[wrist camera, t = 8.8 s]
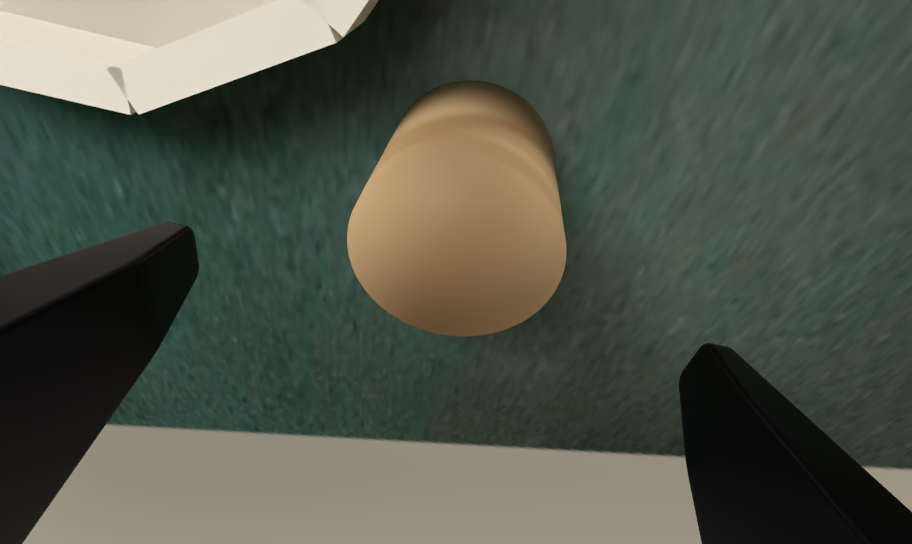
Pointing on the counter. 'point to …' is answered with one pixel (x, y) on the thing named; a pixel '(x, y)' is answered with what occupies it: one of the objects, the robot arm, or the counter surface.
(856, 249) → the counter surface
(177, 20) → the tray
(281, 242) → the counter surface
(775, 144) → the counter surface
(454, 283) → the bead
